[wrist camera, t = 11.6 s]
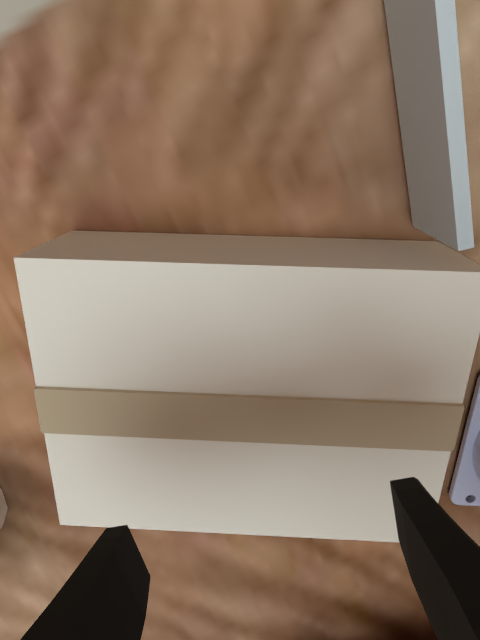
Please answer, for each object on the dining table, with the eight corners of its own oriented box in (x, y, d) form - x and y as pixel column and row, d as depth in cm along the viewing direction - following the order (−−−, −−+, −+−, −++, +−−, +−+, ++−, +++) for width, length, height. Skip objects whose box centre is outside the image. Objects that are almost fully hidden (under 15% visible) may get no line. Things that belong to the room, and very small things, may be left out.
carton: (437, 241, 19) (497, 274, 14) (395, 465, 24) (429, 547, 19) (72, 230, 20) (10, 259, 15) (98, 451, 24) (58, 528, 19)
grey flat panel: (428, 222, 18) (556, 283, 10) (409, 227, 19) (521, 291, 11) (377, -225, 14) (543, -752, 6) (351, -215, 14) (478, -719, 6)
